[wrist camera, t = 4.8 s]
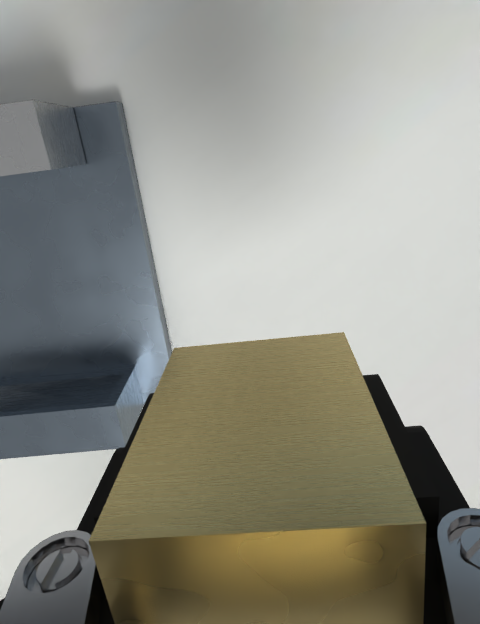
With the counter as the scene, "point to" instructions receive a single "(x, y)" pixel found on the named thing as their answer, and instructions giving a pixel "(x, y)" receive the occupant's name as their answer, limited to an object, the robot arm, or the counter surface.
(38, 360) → the vise
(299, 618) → the brass block
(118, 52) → the counter surface
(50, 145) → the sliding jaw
